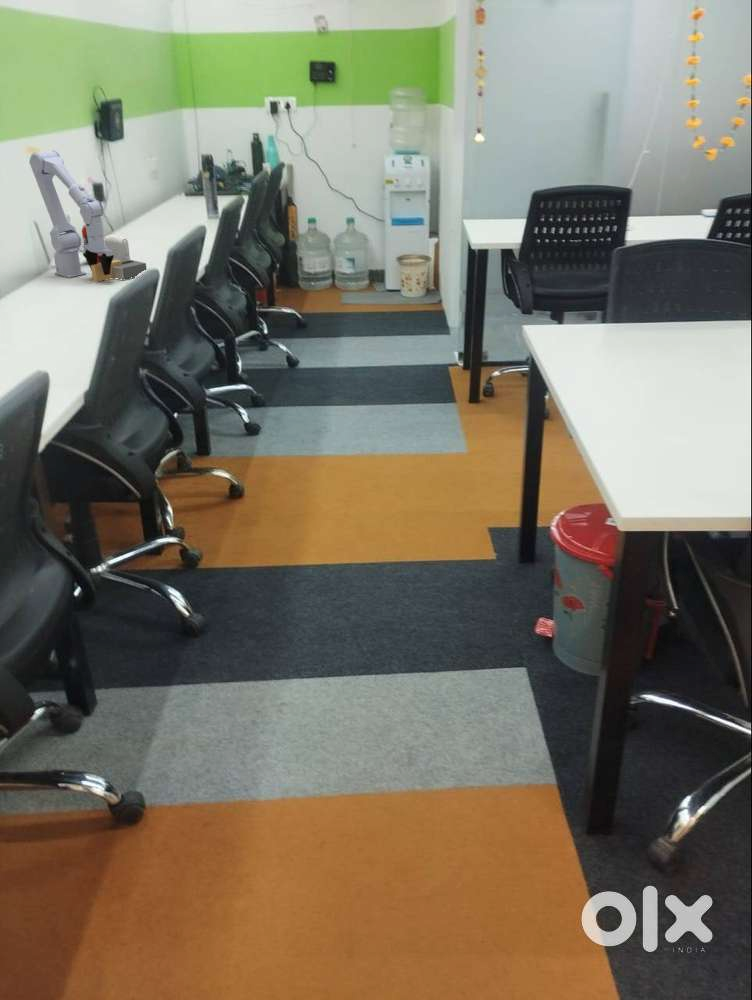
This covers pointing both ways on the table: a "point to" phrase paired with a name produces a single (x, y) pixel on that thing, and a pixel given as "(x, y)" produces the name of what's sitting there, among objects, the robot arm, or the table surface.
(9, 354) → the table surface
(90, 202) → the robot arm
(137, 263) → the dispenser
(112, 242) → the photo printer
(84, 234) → the soda can
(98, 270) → the tan rectangular block
